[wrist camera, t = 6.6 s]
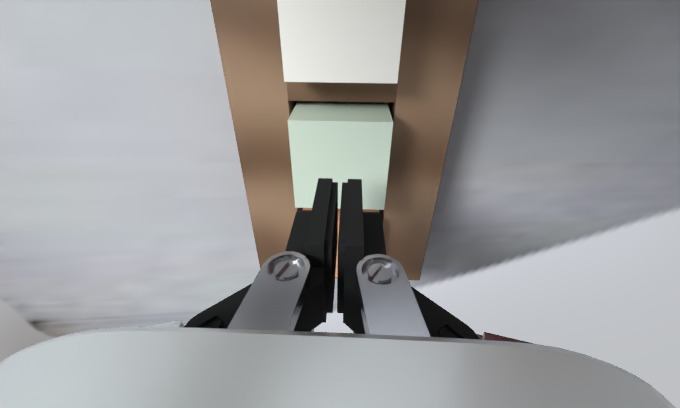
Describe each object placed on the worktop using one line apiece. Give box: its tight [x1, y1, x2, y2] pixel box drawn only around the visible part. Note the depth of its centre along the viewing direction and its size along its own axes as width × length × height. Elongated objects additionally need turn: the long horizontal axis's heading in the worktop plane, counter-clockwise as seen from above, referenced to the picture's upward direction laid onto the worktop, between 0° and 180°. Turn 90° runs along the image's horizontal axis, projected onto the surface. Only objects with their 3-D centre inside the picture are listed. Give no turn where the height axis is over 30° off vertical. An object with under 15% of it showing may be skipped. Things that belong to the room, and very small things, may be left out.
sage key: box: [288, 101, 393, 210], centre depth 16 cm, size 5×5×3 cm
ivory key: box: [277, 0, 406, 84], centre depth 13 cm, size 5×5×3 cm
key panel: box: [210, 0, 478, 280], centre depth 18 cm, size 19×11×3 cm, turn 0°
